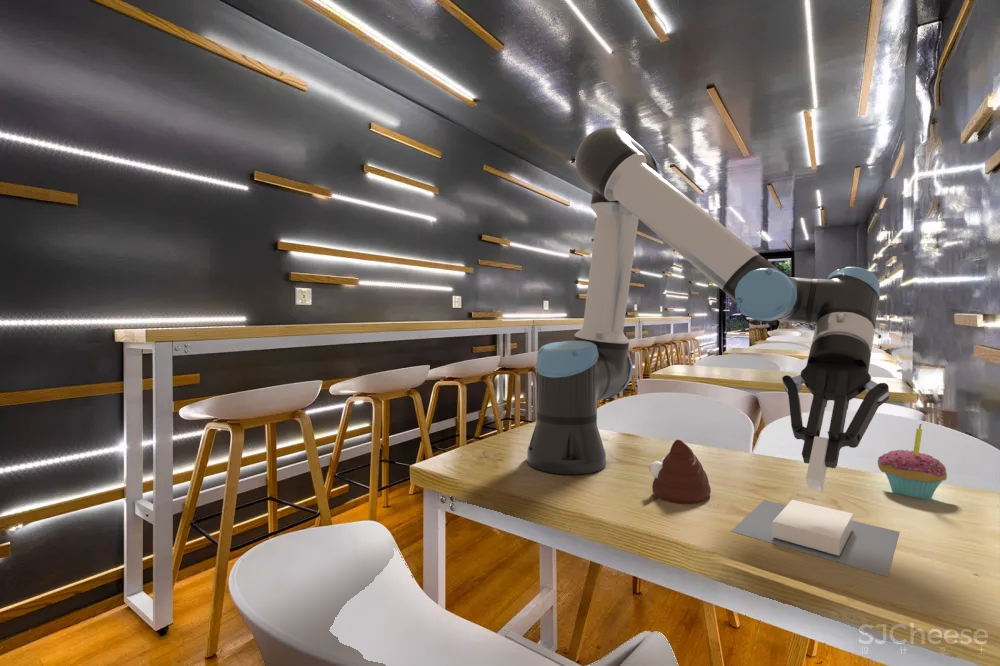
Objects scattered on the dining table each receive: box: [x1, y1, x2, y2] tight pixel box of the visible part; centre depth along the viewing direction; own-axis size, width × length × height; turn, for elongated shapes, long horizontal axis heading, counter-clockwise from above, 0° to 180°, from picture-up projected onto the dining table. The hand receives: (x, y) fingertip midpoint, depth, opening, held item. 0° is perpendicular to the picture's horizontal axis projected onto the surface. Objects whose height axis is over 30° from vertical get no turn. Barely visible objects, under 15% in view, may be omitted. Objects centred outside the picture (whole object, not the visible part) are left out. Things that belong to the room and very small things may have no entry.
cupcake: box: [877, 423, 948, 501], centre depth 78 cm, size 9×8×12 cm
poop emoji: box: [649, 439, 712, 505], centre depth 77 cm, size 10×8×9 cm
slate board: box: [730, 499, 900, 578], centre depth 63 cm, size 16×15×1 cm
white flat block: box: [772, 499, 854, 556], centre depth 62 cm, size 7×2×10 cm
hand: (814, 485), depth 62 cm, fingers closed
